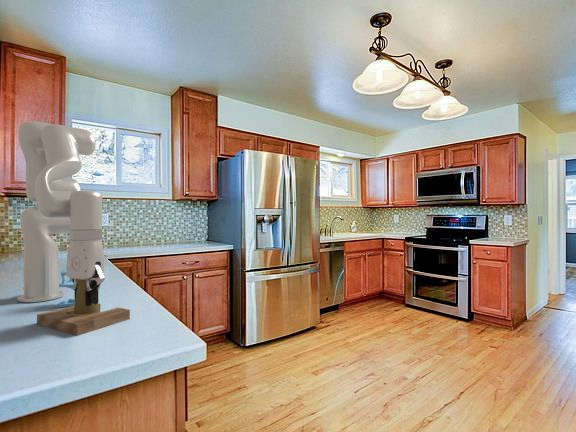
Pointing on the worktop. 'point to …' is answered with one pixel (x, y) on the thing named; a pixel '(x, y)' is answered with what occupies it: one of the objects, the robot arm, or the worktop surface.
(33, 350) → the worktop surface
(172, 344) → the worktop surface
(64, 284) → the chair
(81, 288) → the cork
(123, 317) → the notched board
